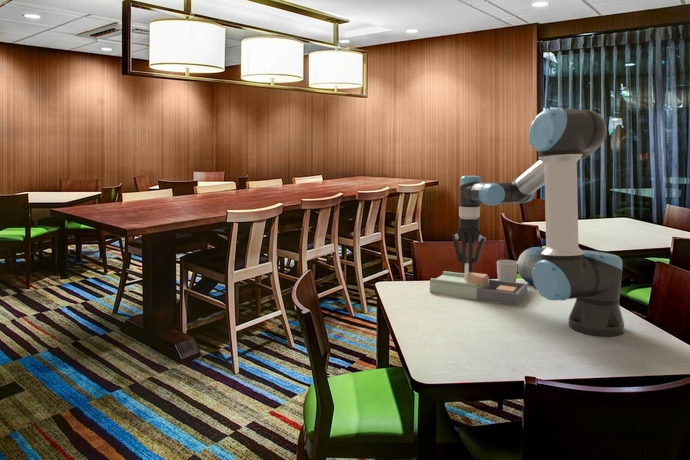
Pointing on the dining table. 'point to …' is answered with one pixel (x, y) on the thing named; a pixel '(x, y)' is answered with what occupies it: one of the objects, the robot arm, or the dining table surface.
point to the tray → (502, 297)
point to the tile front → (507, 289)
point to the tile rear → (477, 278)
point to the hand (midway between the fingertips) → (467, 279)
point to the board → (454, 285)
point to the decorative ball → (529, 263)
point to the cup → (507, 270)
